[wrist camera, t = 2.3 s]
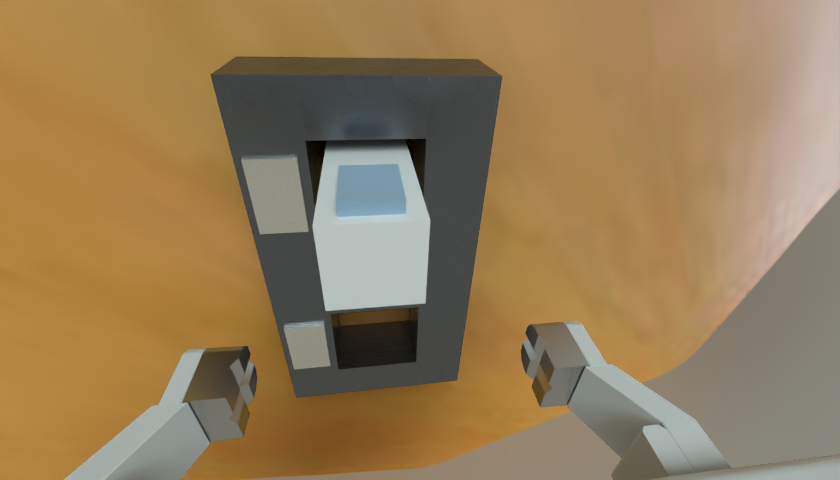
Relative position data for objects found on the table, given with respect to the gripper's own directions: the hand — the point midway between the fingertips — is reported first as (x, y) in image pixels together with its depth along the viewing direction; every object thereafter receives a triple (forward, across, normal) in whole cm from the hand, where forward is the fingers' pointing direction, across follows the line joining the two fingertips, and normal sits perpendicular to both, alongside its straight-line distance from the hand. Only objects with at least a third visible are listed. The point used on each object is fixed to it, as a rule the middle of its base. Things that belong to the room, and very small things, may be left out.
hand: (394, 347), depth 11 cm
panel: (+14, +1, +5) cm, 15 cm away
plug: (+14, +1, 0) cm, 14 cm away
